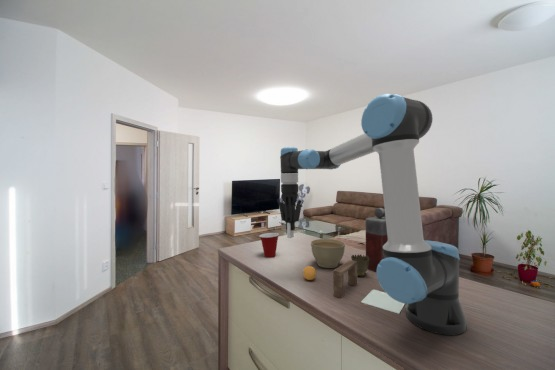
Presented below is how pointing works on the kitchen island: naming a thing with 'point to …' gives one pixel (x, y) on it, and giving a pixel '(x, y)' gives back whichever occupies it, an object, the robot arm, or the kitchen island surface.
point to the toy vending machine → (376, 238)
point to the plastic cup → (269, 244)
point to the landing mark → (383, 301)
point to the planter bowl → (327, 252)
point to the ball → (309, 273)
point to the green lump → (361, 264)
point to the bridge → (339, 277)
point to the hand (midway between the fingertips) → (290, 237)
